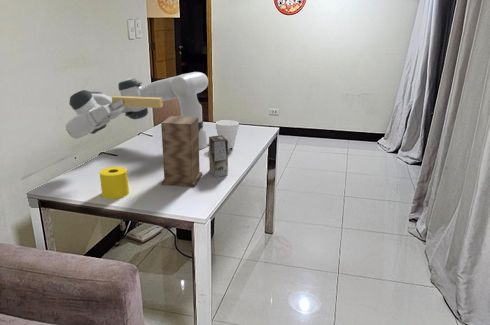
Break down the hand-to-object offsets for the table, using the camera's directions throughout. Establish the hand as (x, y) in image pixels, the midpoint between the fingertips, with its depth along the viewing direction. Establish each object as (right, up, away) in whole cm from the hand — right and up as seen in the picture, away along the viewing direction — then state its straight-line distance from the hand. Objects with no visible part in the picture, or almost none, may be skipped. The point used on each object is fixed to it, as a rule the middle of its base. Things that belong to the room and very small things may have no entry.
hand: (125, 99), depth 163 cm
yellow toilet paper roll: (-2, -38, -6) cm, 38 cm away
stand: (+22, -33, +9) cm, 40 cm away
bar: (+5, -2, 0) cm, 5 cm away
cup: (+39, -17, +53) cm, 68 cm away
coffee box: (+37, -30, +17) cm, 50 cm away
